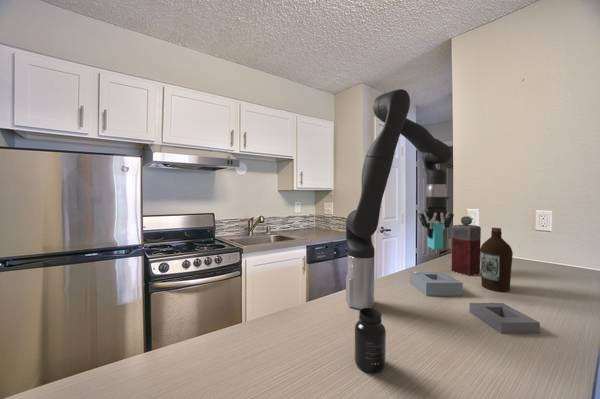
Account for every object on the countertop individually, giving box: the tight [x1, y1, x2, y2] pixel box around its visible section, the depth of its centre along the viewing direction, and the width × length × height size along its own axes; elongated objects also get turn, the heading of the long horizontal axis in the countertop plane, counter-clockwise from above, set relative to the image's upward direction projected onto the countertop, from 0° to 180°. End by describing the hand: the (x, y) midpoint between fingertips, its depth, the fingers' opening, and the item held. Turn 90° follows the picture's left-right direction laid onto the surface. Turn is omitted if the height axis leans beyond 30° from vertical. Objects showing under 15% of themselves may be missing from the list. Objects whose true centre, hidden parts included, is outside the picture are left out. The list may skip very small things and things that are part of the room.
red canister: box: [450, 215, 482, 277], centre depth 128 cm, size 9×11×28 cm
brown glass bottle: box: [480, 227, 514, 293], centre depth 106 cm, size 11×11×25 cm
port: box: [409, 271, 464, 297], centre depth 105 cm, size 14×14×5 cm
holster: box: [468, 302, 541, 334], centre depth 78 cm, size 11×13×3 cm
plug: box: [427, 222, 444, 250], centre depth 105 cm, size 4×5×10 cm
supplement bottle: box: [354, 307, 387, 374], centre depth 58 cm, size 7×7×12 cm
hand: (435, 237), depth 105 cm, fingers closed on plug, 3 cm apart
